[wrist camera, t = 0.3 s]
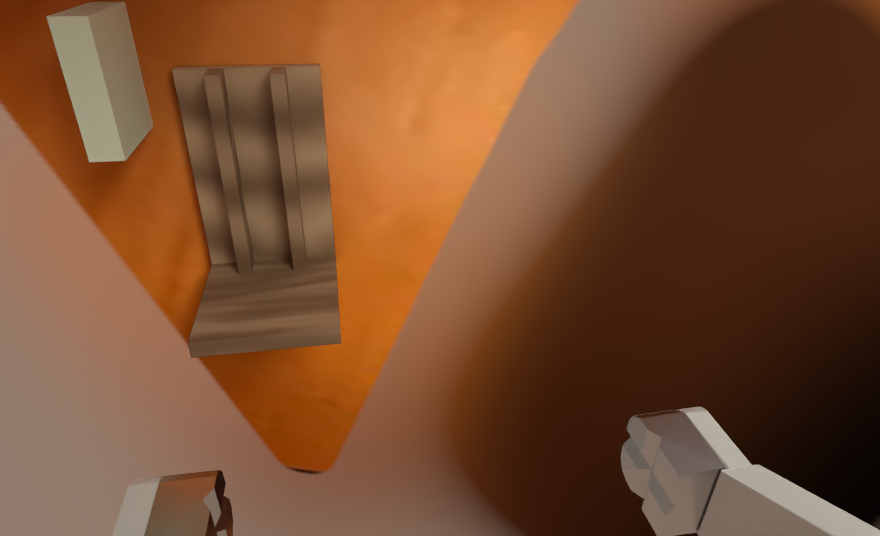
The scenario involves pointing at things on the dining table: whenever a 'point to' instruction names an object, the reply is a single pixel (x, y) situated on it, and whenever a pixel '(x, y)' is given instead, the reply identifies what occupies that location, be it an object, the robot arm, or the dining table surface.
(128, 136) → the door panel
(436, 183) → the dining table surface
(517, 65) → the dining table surface
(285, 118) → the track board
